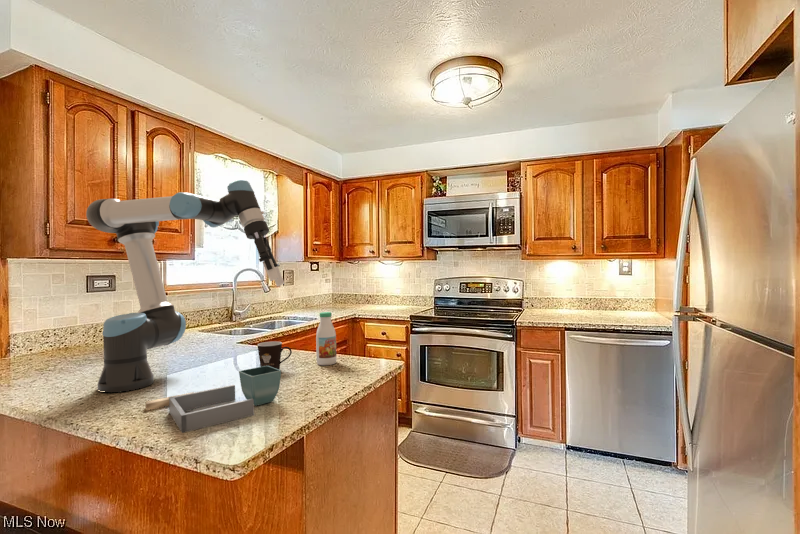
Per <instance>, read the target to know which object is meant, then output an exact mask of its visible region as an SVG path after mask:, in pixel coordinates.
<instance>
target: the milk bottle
mask: <svg viewBox="0 0 800 534" xmlns="http://www.w3.org/2000/svg"><path fill="white" fill-rule="evenodd" d="M336 333H337V332H336V329H335V327H334V324H333V322H332V312H331V311H323V312H320V313H319V324H318V327H317V329H316V335H315V336H316V337H315V341H316V342H315V344H316V346H315V348H316V349H315V351H316V352H315V354H316V365H318V366H330V365H334V364H336V363H337V361H338V360H337V358H338V357H337V334H336Z"/></svg>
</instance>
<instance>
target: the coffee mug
mask: <svg viewBox="0 0 800 534" xmlns="http://www.w3.org/2000/svg"><path fill="white" fill-rule="evenodd" d="M282 345H283V342H281V341H265V342H260V343H258V344H257V350H258V351H257V353H258V358H259V365H260V366H259V367H263V366H270V367H273V368H276V369H279V370H281V367H280V366H281V364H282V363H283V362H285V361H286V360H288V359H289V358H290V356H291V355H292V353H293V351H292V349H291V348H290V347H289V346H283V347H282ZM285 349H288V350H289V354H288V356H286V357H285V358H284V359H282V360H281V357H282V352H283V351H284V350H285Z"/></svg>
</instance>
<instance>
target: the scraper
mask: <svg viewBox="0 0 800 534" xmlns="http://www.w3.org/2000/svg"><path fill="white" fill-rule="evenodd" d="M190 393H195V392H194V391H193V392H187V393H182V394H176V395H173V396H171V395H170V396H168V397H163V398H162V397H161V398H158V399H153V400H152V399H150V400H148V401H145V410H146V409H147V410H146V411H150V409H151V410H154V409H155V408H156V409H160V408H159V407H161V408H165V407H164V406H166V407H169V397H174V396H180V395H185V394H190ZM156 409H155V410H156Z"/></svg>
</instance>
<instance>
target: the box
mask: <svg viewBox="0 0 800 534" xmlns="http://www.w3.org/2000/svg"><path fill="white" fill-rule="evenodd" d="M189 393H190V394H187V393H184V394H185V395H182V394H179V395H180V396H176V395H173V396H174V397H171V396H168V397H169V406H168V407H169V408H168V410H169V412H168V413H169V414H170V416H171V418H172V420H173V421H174V422H175V424H176V426H177V427H178V429H179V431H180V432H181V433H182V434H183V433H188V432H191V431H195V430H200V429H203V428H207V427H210V426H211V427H212V426H215V425H219V424H223V423H227V422H230V421H235V420H239V419H243V418H246V417H251V416H254V415H255V405H254V399H253V398H252V399H243V400H239V401H235V402H231V401H234V400H236V385H235V384H232V385H225V386H220V387H216V388H211V389H206V390H205V389H204V390H201V391H195V392H194V393H192V392H189ZM229 401H230V402H231V403H225V404H221V403H224V402H229ZM215 404H221V405H216V406H213V407H212V406H211V405H215ZM207 406H211V407H208V408H203V409H198V410H195V411H190V412H185V411H188V410H193V409H197V408H202V407H207Z"/></svg>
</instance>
